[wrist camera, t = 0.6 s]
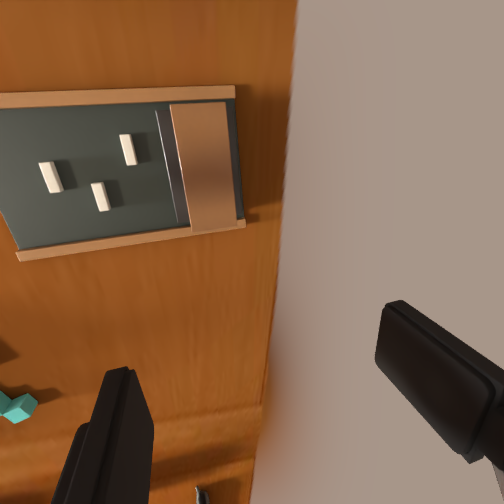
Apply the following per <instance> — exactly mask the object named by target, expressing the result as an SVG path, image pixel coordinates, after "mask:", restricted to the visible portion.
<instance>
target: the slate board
mask: <svg viewBox="0 0 504 504" xmlns="http://www.w3.org/2000/svg"><path fill="white" fill-rule="evenodd" d="M235 98H236V94H235V85H222V86H192V87H162V88H132V89H102V90H72V91H42V92H12V93H0V211H1V213H2V215H3V217H4V219H5V221H6V223H7V225H8V227H9V229H10V231H11V233H12V235H13V238H14V240H15V242H16V244H17V246H18V248H19V250H18V251H17V252H16V254H17V256H18V258H19V260H20V262H22V261H29V260H35V259H42V258H48V257H55V256H61V255H68V254H75V253H81V252H88V251H94V250H101V249H108V248H114V247H121V246H127V245H134V244H140V243H147V242H154V241H160V240H167V239H173V238H180V237H187V236H193V235H200V234H206V233H213V232H220V231H226V230H233V229H239V228H246V219H245V218H244V208H243V196H242V184H241V172H240V160H239V148H238V136H237V124H236V112H235V100H234V99H235ZM210 102H226V107H231V106H232V107H233V116H234V127H235V139H236V150H237V162H238V173H239V185H240V196H241V208H242V214H239V215H237V226H233V227H226V228H220V229H213V230H206V231H200V232H192V230H191V224H190V221H189V222H182V223H178V222H177V217H176V212H175V207H174V202H173V197H172V192H171V187H170V181H169V176H168V171H167V166H166V161H165V156H164V151H163V146H162V141H161V136H160V131H159V126H158V121H157V116H156V110H170V104H188V103H210ZM124 134H131V137H132V141H133V145H134V149H135V153H136V157H137V162H138V164H137V165H127V163H126V159H125V155H124V152H123V148H122V144H121V140H120V136H119V135H124ZM51 161H53V162H54V165H55V167H56V170H57V173H58V175H59V178H60V181H61V183H62V186H63V189H64V191H62V192H57V193H50V191H49V189H48V186H47V183H46V181H45V178H44V176H43V173H42V171H41V168H40V166H39V163H41V162H51ZM97 182H103V183H104V186H105V190H106V193H107V196H108V200H109V203H110V206H111V209H110V210H108V211H99V208H98V205H97V202H96V198H95V195H94V192H93V189H92V186H91V184H92V183H97Z"/></svg>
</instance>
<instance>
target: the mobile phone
mask: <svg viewBox="0 0 504 504" xmlns="http://www.w3.org/2000/svg"><path fill="white" fill-rule="evenodd" d="M196 491H197V498H196V499H197V503H196V504H210V502H209V495H208V493H207V492H206V491H200V489H199V486H196Z"/></svg>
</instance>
